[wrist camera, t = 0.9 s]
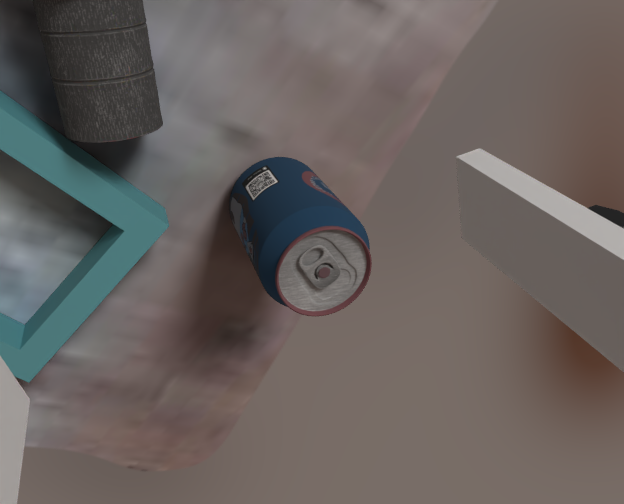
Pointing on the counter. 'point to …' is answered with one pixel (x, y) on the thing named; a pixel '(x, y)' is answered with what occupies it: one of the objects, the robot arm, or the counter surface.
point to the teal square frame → (100, 259)
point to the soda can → (300, 237)
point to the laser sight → (100, 68)
